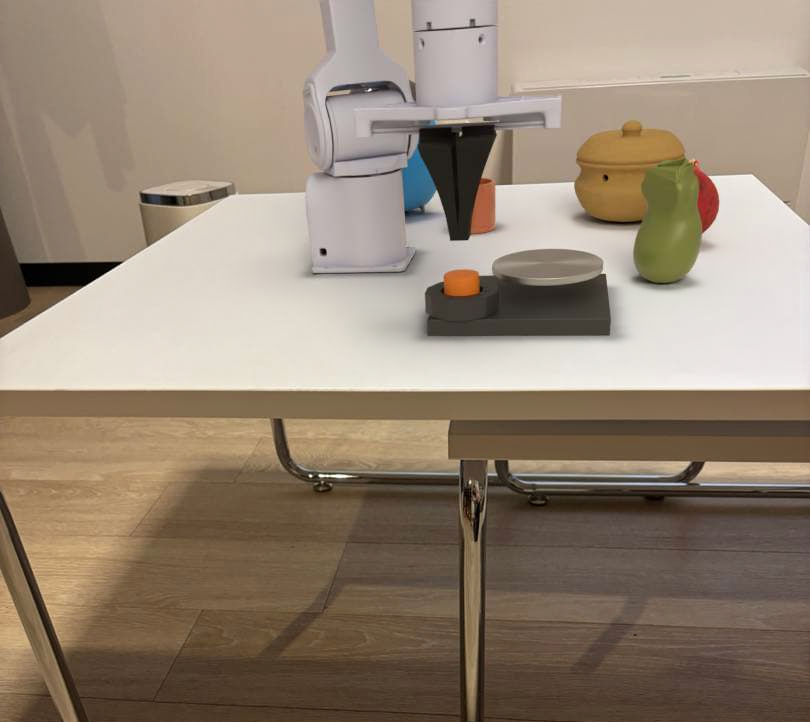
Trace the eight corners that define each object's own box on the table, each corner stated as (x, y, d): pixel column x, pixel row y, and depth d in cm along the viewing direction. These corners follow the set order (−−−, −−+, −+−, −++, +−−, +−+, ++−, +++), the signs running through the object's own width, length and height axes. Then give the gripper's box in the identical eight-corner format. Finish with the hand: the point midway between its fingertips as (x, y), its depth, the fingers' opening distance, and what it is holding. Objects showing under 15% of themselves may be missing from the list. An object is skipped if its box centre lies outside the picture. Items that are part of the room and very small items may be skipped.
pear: (707, 282, 72) (724, 158, 67) (664, 294, 70) (678, 167, 65) (659, 269, 76) (672, 151, 71) (617, 281, 74) (626, 160, 69)
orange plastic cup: (449, 234, 93) (447, 187, 90) (454, 224, 97) (453, 178, 94) (493, 233, 92) (493, 185, 89) (497, 222, 96) (497, 176, 93)
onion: (716, 253, 79) (728, 163, 75) (654, 254, 81) (663, 166, 76) (710, 238, 84) (721, 153, 80) (651, 239, 85) (659, 155, 81)
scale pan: (487, 287, 65) (487, 279, 65) (496, 256, 72) (496, 249, 72) (604, 285, 63) (605, 277, 63) (601, 254, 71) (601, 247, 70)
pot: (552, 224, 94) (556, 126, 88) (604, 203, 101) (610, 112, 95) (648, 235, 87) (658, 130, 82) (696, 212, 94) (708, 114, 89)
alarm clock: (446, 215, 101) (441, 75, 93) (408, 225, 98) (399, 81, 90) (381, 203, 110) (371, 74, 102) (343, 212, 107) (330, 80, 98)
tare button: (441, 299, 64) (441, 279, 63) (446, 288, 67) (445, 269, 66) (477, 299, 64) (477, 279, 63) (481, 288, 66) (480, 268, 65)
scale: (422, 338, 65) (420, 300, 63) (443, 291, 75) (441, 257, 73) (609, 338, 62) (612, 298, 61) (604, 289, 72) (607, 254, 71)
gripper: (336, 38, 53) (356, 253, 61) (563, 22, 51) (556, 248, 58) (359, 33, 59) (375, 230, 67) (565, 19, 57) (557, 225, 64)
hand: (460, 237), depth 63 cm, fingers closed
